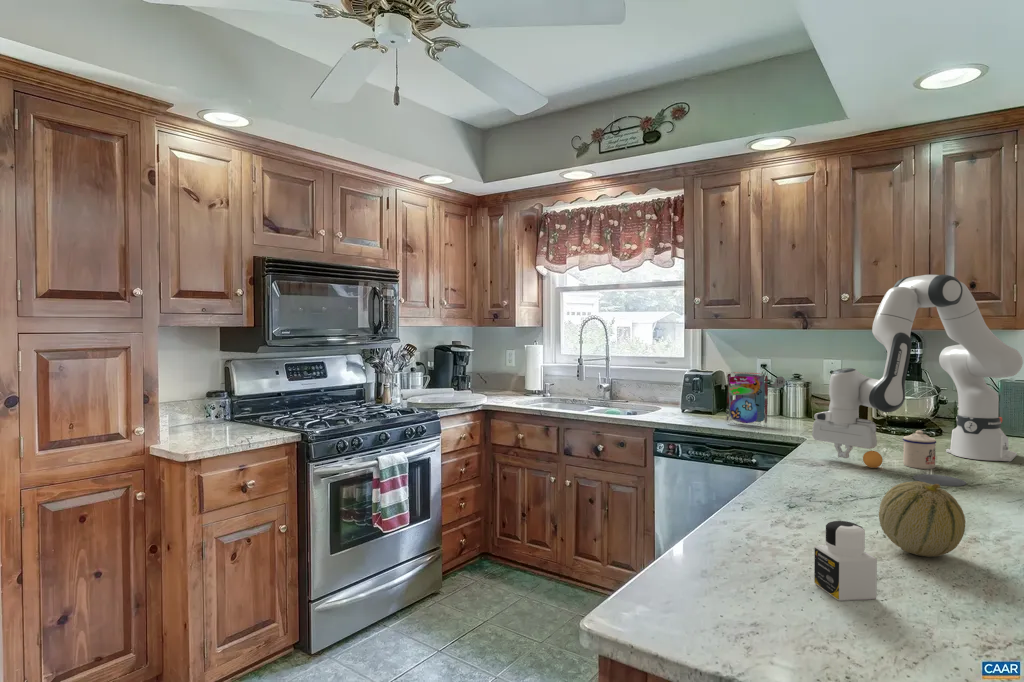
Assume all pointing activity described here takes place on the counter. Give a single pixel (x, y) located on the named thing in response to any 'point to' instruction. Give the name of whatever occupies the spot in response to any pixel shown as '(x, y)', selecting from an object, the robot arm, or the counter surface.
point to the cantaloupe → (922, 518)
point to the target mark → (939, 480)
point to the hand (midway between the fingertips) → (843, 457)
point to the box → (749, 397)
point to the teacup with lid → (919, 451)
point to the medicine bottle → (845, 563)
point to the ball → (872, 459)
